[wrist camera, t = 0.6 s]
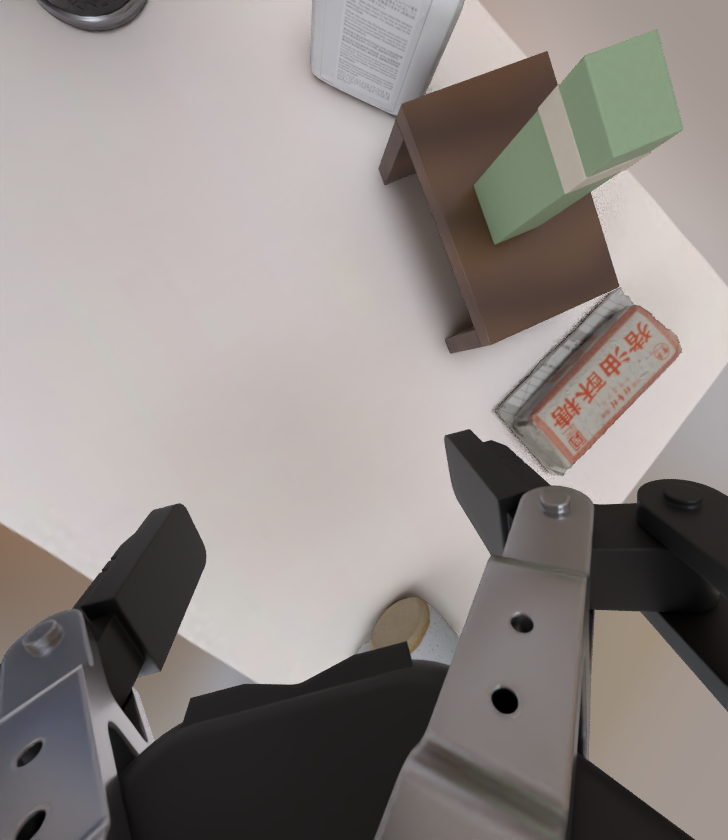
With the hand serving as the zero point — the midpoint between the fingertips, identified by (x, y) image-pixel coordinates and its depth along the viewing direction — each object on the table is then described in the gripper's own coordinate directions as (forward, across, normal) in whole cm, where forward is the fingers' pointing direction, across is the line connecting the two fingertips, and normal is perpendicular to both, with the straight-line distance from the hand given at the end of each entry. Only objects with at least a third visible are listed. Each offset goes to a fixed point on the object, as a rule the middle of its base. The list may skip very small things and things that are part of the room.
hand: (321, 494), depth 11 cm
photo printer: (+31, -10, -21) cm, 39 cm away
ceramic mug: (+18, 0, +30) cm, 35 cm away
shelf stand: (+28, -16, -6) cm, 33 cm away
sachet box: (+21, -16, -8) cm, 27 cm away
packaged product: (+26, -25, +10) cm, 37 cm away
